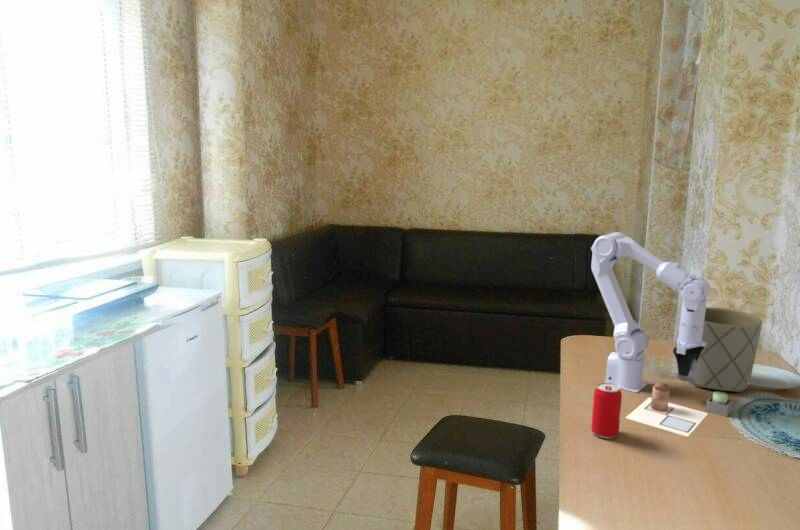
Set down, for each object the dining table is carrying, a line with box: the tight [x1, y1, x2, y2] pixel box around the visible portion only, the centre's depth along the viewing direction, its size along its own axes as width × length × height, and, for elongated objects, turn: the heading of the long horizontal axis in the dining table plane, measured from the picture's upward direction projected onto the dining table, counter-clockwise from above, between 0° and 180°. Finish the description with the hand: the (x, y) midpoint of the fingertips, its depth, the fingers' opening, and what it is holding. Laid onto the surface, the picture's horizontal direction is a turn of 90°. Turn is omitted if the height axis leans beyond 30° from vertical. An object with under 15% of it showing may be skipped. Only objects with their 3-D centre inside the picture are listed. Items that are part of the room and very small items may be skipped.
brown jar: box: [651, 382, 670, 412], centre depth 162 cm, size 4×4×6 cm
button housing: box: [704, 394, 734, 418], centre depth 161 cm, size 5×5×3 cm
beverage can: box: [590, 382, 623, 439], centre depth 147 cm, size 6×6×12 cm
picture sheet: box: [625, 397, 709, 438], centre depth 158 cm, size 15×17×1 cm
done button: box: [712, 390, 729, 405], centre depth 161 cm, size 3×3×3 cm
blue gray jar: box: [676, 358, 696, 382], centre depth 166 cm, size 4×4×6 cm
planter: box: [690, 306, 763, 393], centre depth 179 cm, size 19×19×20 cm
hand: (685, 372), depth 167 cm, fingers closed on blue gray jar, 4 cm apart
